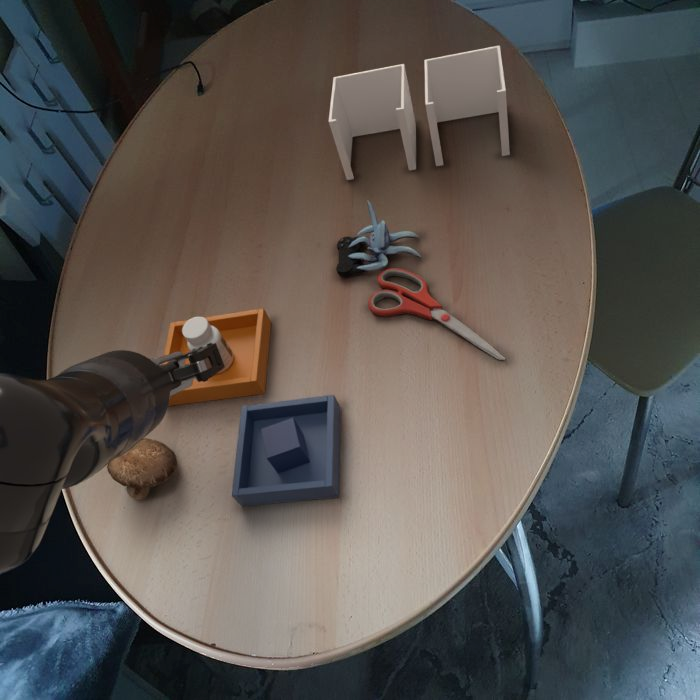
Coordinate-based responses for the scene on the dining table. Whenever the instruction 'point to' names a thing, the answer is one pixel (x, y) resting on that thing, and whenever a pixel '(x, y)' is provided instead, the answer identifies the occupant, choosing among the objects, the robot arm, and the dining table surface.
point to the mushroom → (143, 467)
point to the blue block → (285, 445)
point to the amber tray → (248, 363)
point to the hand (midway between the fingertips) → (163, 371)
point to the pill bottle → (206, 338)
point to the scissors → (423, 307)
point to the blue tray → (297, 483)
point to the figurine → (378, 246)
